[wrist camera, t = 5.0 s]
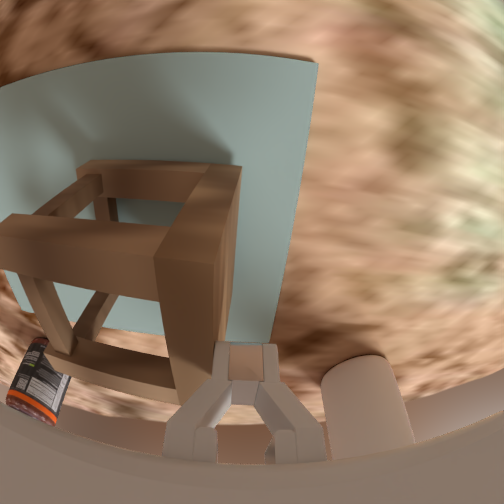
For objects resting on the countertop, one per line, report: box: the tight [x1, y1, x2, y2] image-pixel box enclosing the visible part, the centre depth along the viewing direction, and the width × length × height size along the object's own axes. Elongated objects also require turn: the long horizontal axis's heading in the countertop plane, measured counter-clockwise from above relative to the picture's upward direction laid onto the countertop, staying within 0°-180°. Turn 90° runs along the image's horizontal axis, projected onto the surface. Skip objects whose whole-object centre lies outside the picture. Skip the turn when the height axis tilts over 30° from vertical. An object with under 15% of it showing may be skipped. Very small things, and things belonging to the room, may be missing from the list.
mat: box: [0, 52, 318, 343], centre depth 17 cm, size 24×20×1 cm
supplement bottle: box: [6, 338, 71, 427], centre depth 21 cm, size 6×6×11 cm
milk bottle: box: [321, 355, 415, 460], centre depth 19 cm, size 8×8×20 cm
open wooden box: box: [0, 160, 242, 406], centre depth 13 cm, size 9×8×8 cm
